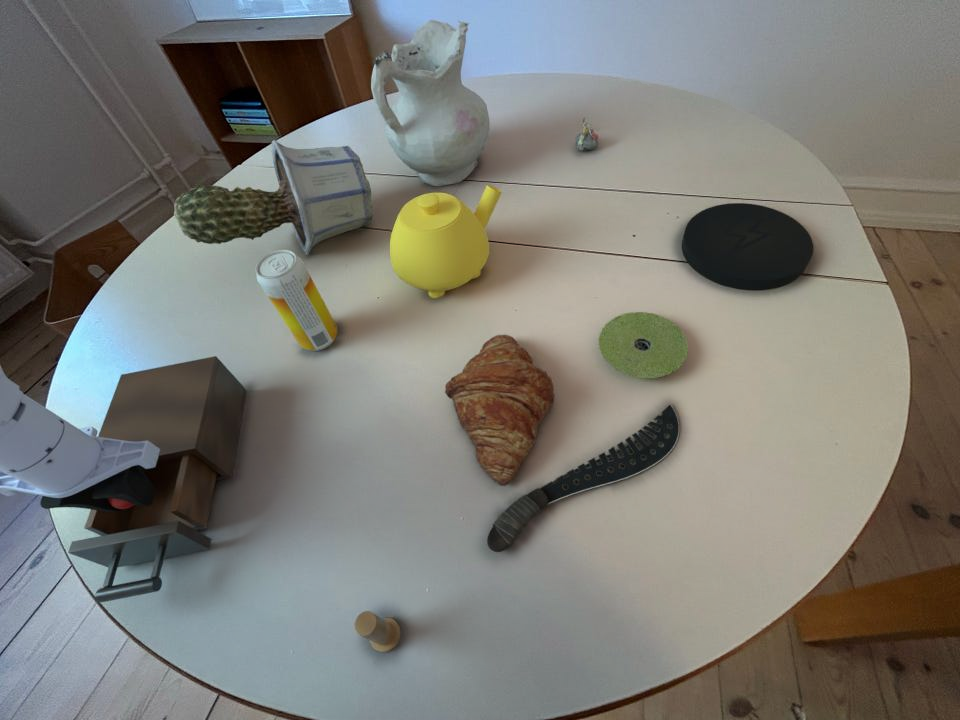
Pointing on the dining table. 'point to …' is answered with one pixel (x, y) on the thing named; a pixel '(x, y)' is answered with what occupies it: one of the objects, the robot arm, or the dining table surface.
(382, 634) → the flanged wooden peg
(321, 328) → the yellow two-tone cylinder
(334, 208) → the potted plant
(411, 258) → the teapot
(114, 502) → the ball
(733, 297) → the dining table surface
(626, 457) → the knife
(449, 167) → the ceramic pitcher
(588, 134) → the figurine
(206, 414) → the cabinet
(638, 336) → the green disc
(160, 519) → the drawer
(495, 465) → the pastry
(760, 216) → the wireless charger
